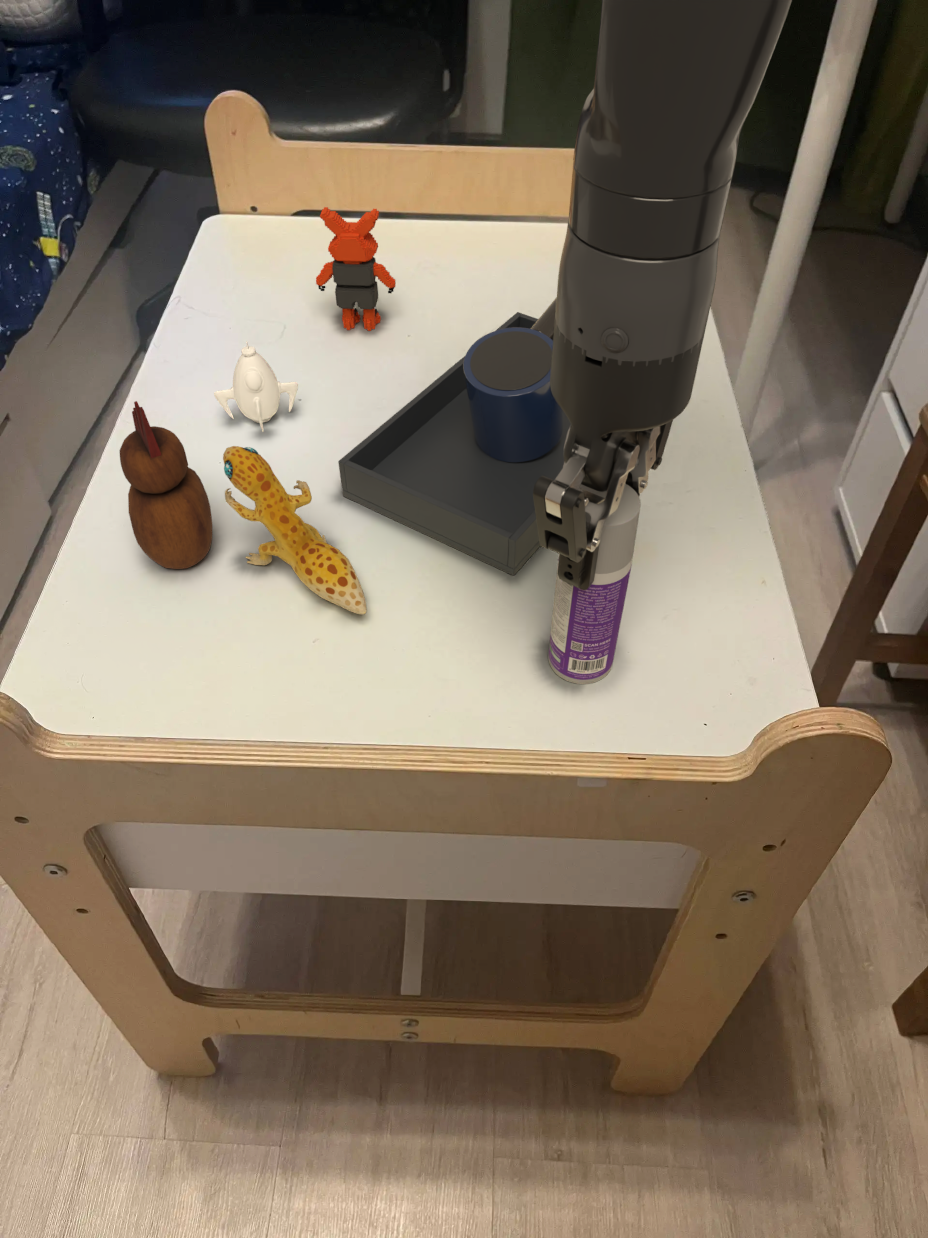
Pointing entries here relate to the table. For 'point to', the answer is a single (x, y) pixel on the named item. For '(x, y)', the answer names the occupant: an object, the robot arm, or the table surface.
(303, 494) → the toy
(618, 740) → the table surface
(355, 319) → the toy animal
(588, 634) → the container
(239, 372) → the rocket toy
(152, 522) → the wooden figurine
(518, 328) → the blue saucepan
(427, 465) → the tray
